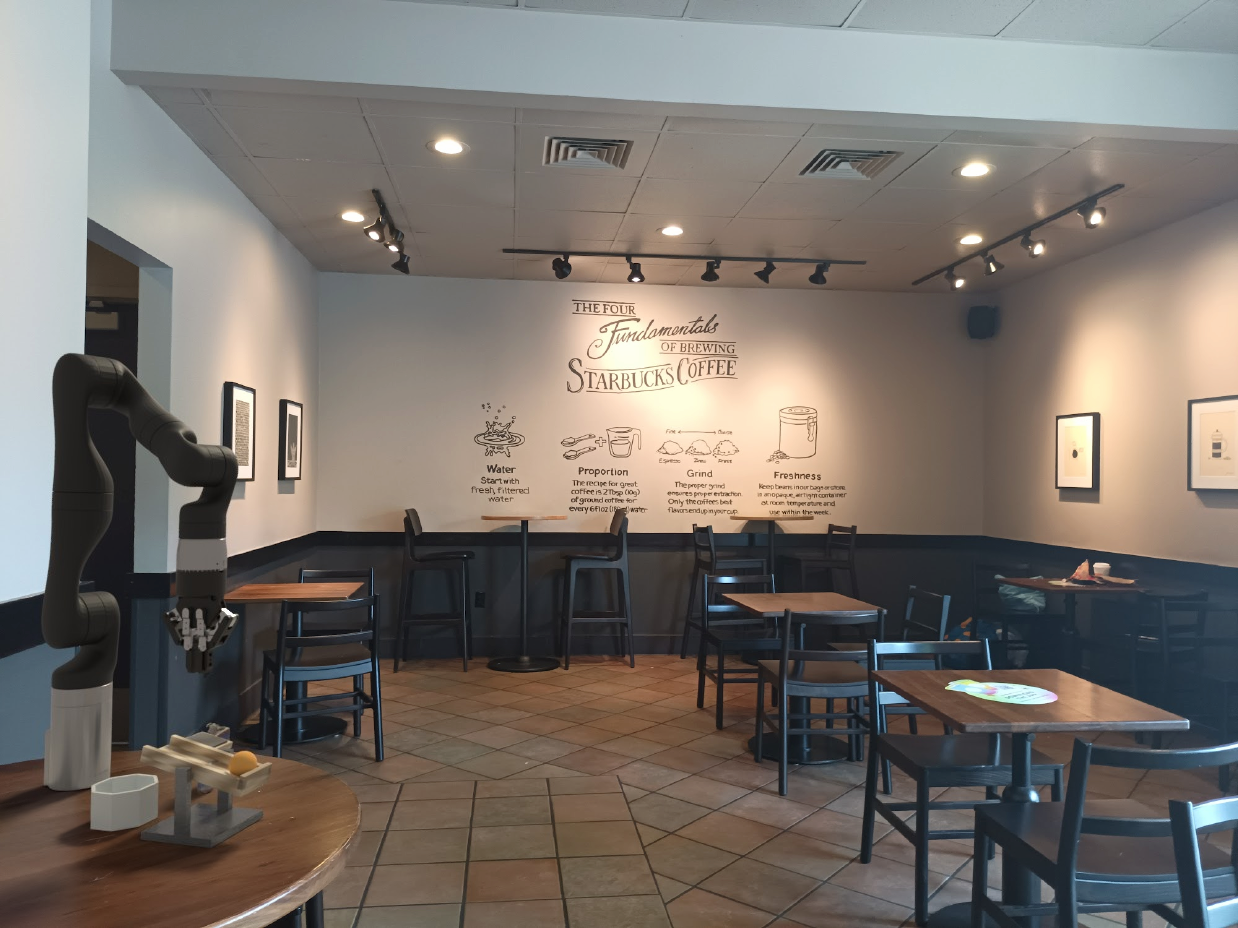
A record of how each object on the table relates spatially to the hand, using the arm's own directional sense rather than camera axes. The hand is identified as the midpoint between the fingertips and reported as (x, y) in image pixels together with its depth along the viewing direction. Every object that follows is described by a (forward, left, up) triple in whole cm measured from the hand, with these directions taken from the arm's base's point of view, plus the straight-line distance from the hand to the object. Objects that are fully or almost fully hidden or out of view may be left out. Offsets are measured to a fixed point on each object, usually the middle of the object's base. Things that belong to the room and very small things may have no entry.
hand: (199, 672), depth 140 cm
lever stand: (+7, -6, -22) cm, 24 cm away
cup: (-8, -6, -22) cm, 24 cm away
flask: (-5, +11, -22) cm, 25 cm away
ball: (+13, -6, -12) cm, 19 cm away
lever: (+7, -3, -14) cm, 15 cm away
